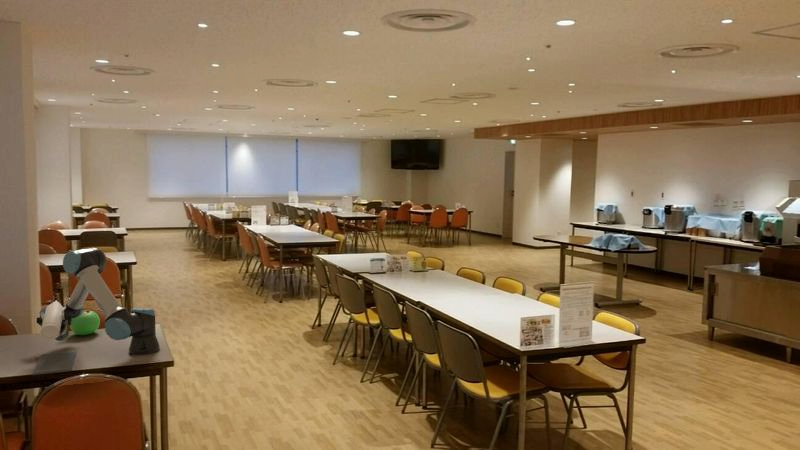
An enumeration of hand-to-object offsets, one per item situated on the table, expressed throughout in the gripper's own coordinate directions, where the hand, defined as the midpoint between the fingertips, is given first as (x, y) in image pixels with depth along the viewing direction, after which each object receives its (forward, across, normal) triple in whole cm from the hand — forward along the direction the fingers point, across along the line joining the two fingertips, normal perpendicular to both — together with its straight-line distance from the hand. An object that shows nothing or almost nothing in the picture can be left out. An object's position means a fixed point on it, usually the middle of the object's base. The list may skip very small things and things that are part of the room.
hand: (52, 314), depth 304 cm
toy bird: (-62, -9, +6) cm, 63 cm away
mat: (-15, 0, -21) cm, 26 cm away
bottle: (+7, 0, -11) cm, 13 cm away
